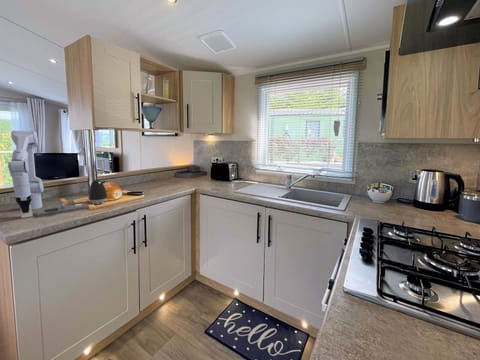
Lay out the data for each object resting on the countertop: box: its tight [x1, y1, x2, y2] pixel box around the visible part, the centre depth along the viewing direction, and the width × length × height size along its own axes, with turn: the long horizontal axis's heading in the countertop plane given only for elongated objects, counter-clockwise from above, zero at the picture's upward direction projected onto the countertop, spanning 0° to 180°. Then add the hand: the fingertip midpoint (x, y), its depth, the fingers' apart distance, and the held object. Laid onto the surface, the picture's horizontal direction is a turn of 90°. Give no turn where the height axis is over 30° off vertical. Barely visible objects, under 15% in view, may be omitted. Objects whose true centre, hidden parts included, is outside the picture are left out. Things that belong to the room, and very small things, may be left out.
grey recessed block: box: [35, 201, 90, 218], centre depth 126 cm, size 9×22×6 cm, turn 135°
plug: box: [19, 205, 33, 219], centre depth 116 cm, size 4×4×5 cm
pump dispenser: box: [87, 179, 108, 205], centre depth 144 cm, size 10×10×15 cm
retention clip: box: [59, 197, 69, 205], centre depth 123 cm, size 2×9×2 cm, turn 49°
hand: (25, 211), depth 116 cm, fingers closed on plug, 4 cm apart
